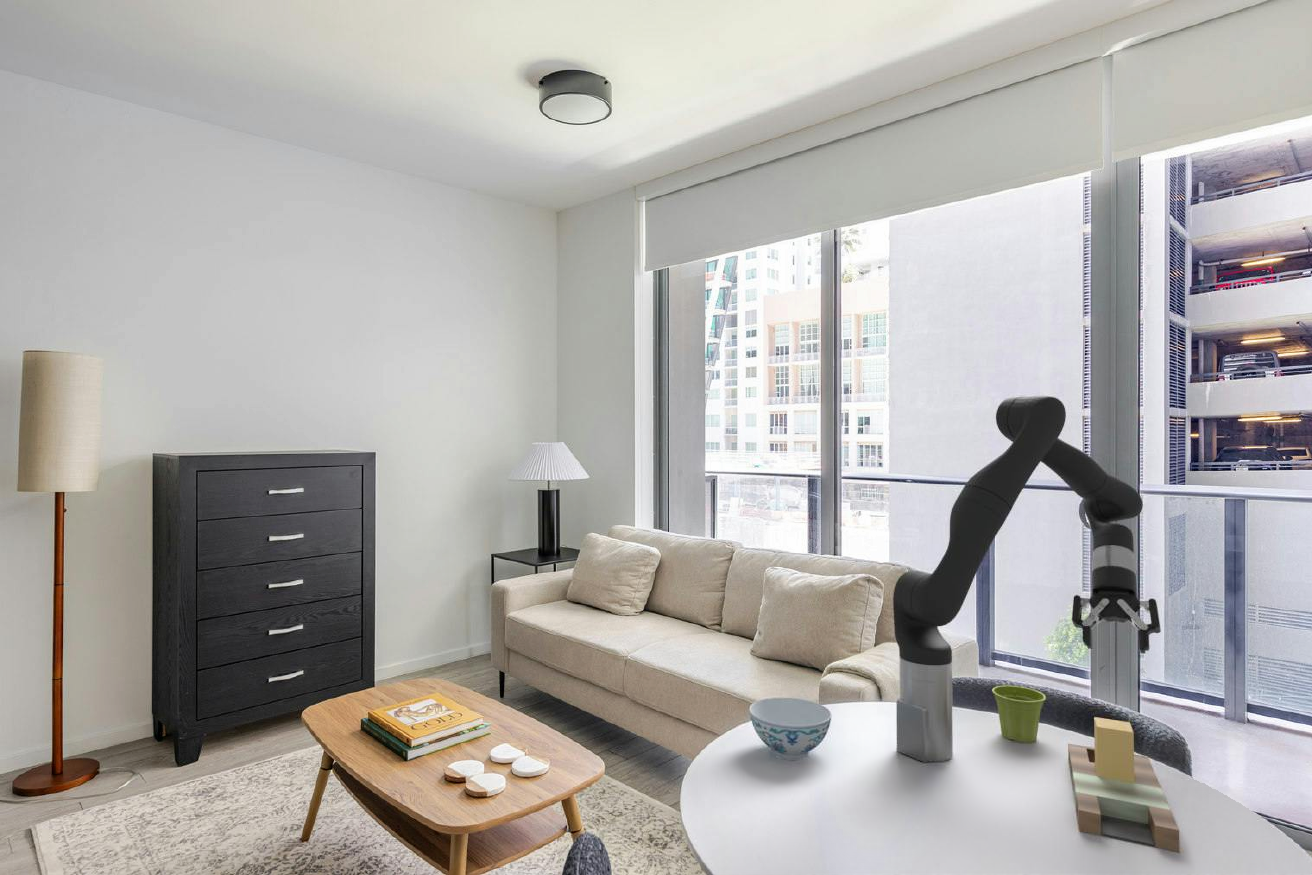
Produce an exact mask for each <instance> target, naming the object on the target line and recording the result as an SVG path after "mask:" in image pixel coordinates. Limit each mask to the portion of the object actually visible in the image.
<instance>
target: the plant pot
mask: <svg viewBox="0 0 1312 875" xmlns="http://www.w3.org/2000/svg"><path fill="white" fill-rule="evenodd" d="M991 692H992V694H993V695H994V698H995V701H996V705H997V710H998V711H997V712H998V719H999V724H1000V731H1001V736H1002V737H1004V738H1006V739H1007V740H1014V741H1016V742H1018V743H1022V744H1023V743H1026V744H1031V743H1034V742H1035V741H1036V740H1037V738H1038V737H1037V736H1038V731H1039V723H1040V717H1041V711H1042V707H1044V702H1045V701H1046V699H1047V696H1046V695H1045V694H1044V693H1043V692H1041V691H1039V690H1036V689H1032V688H1028V687H1024V686H1019V685H1018V686H1017V685H997V686H995V687H993V688H992V689H991Z"/></svg>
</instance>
